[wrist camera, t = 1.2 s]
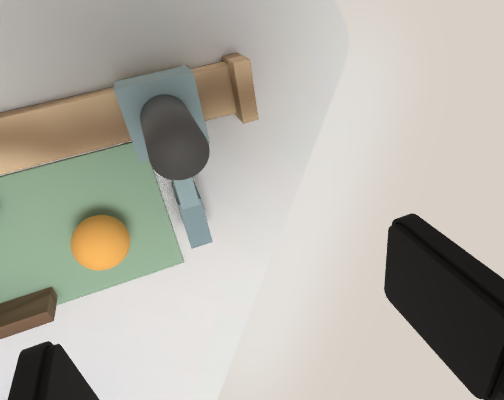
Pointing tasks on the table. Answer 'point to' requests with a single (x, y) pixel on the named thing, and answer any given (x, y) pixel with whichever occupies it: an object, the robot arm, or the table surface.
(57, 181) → the felt mat
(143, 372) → the table surface
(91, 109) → the rail
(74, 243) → the ball
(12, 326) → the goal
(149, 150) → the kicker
